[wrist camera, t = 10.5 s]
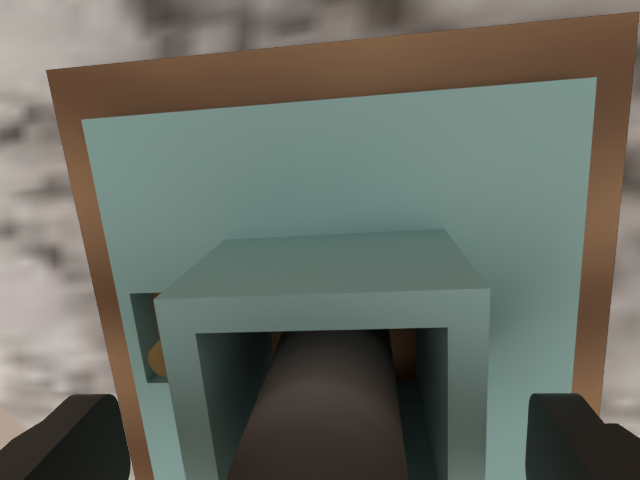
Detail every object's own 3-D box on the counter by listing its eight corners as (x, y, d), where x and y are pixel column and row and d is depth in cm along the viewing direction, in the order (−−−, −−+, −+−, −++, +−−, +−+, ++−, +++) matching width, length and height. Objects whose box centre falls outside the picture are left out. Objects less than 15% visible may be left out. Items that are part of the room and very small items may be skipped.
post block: (78, 75, 14) (-317, 9, 6) (607, 24, 12) (1088, -171, 4) (160, 484, 18) (-6, 782, 10) (568, 490, 16) (774, 859, 8)
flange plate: (573, 81, 11) (755, 45, 6) (545, 490, 15) (647, 696, 9) (106, 119, 13) (-74, 118, 8) (175, 484, 16) (83, 660, 11)
